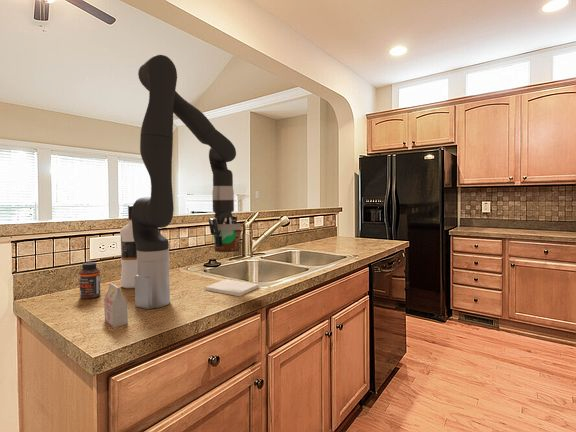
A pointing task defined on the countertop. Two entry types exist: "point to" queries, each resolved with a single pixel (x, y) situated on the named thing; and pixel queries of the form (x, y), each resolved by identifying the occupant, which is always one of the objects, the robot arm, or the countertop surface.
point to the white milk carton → (115, 307)
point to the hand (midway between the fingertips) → (224, 245)
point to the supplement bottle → (89, 281)
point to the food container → (229, 237)
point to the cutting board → (232, 287)
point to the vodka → (128, 254)
